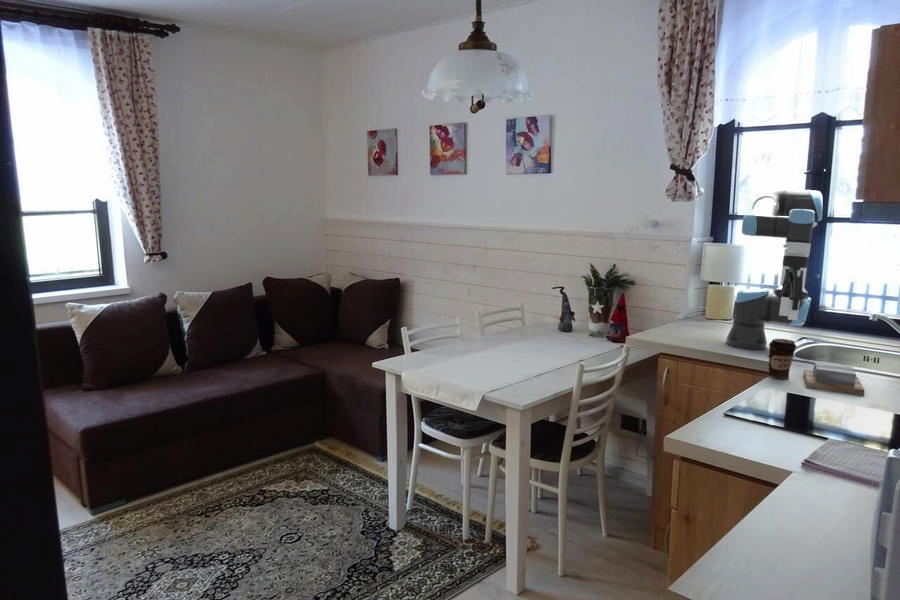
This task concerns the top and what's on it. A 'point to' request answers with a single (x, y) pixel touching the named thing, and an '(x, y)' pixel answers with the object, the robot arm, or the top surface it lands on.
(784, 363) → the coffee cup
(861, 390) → the stepped plinth
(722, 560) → the top surface
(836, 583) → the top surface
